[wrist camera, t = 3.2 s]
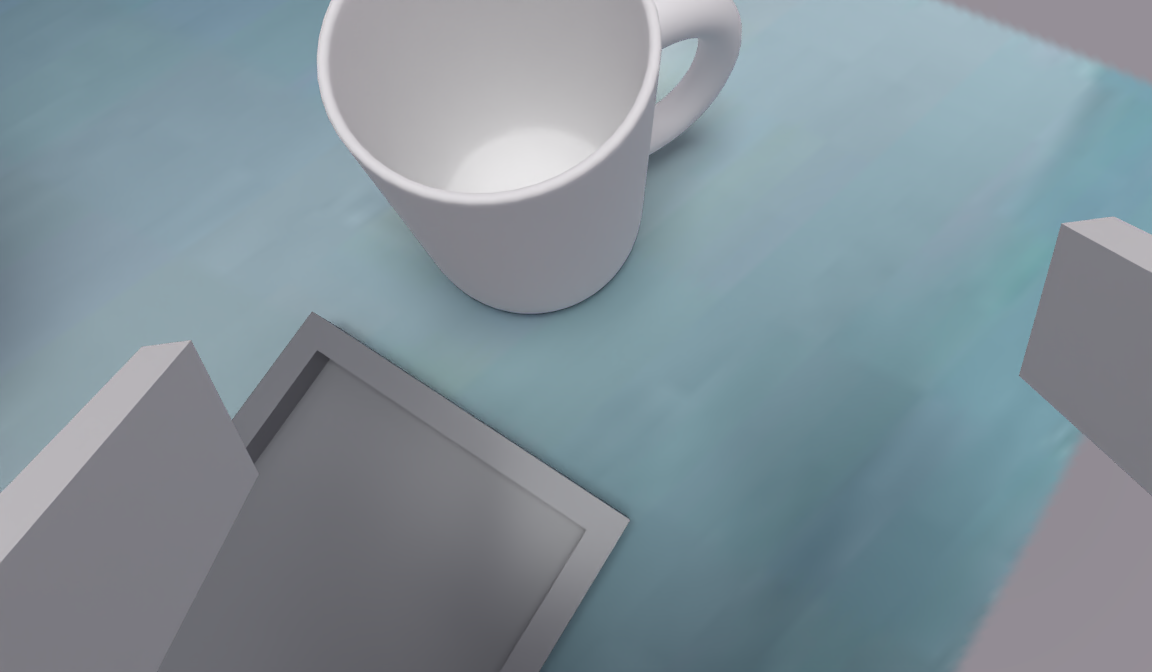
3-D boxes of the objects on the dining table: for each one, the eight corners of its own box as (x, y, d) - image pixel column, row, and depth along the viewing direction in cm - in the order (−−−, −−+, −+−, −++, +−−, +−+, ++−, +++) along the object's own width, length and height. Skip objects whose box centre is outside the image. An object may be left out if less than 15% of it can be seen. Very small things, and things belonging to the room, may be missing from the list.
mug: (663, 51, 27) (696, -209, 17) (766, 218, 25) (870, 37, 15) (397, 175, 26) (266, -19, 16) (481, 357, 24) (393, 265, 14)
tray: (32, 741, 22) (-24, 766, 20) (335, 325, 25) (311, 311, 23) (334, 1005, 20) (305, 1061, 18) (628, 517, 23) (630, 520, 21)
